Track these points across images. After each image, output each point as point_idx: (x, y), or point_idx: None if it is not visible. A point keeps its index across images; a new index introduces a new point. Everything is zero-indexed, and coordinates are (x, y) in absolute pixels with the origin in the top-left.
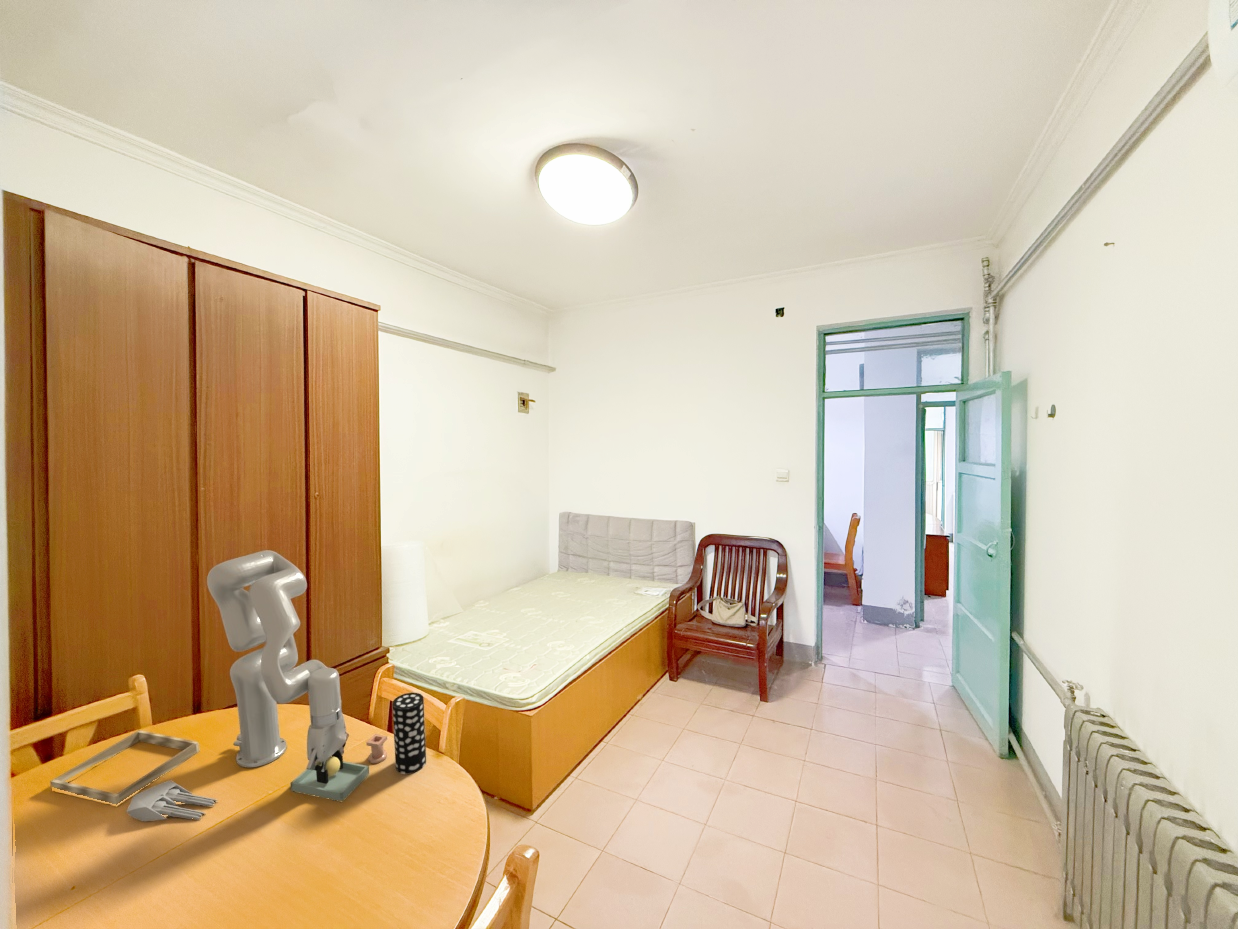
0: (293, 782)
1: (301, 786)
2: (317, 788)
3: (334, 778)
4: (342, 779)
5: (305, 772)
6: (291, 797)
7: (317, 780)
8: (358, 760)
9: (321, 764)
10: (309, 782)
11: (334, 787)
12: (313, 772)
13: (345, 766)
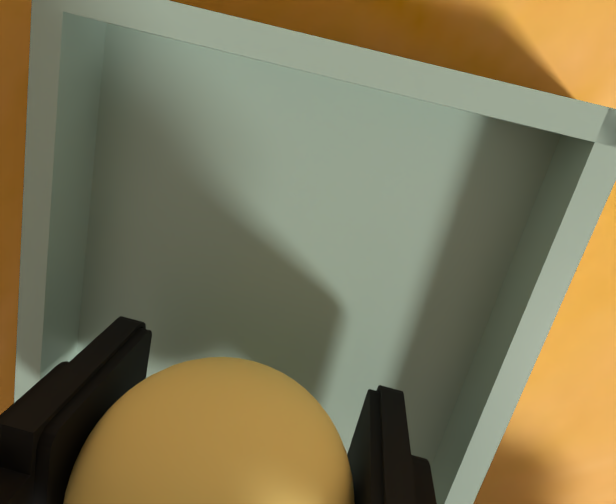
0: (50, 11)
1: (31, 160)
2: (20, 370)
3: None
4: None
5: (282, 63)
6: (21, 60)
7: (62, 362)
8: (596, 487)
9: (100, 479)
10: (200, 170)
11: None
12: (377, 125)
13: (441, 465)
